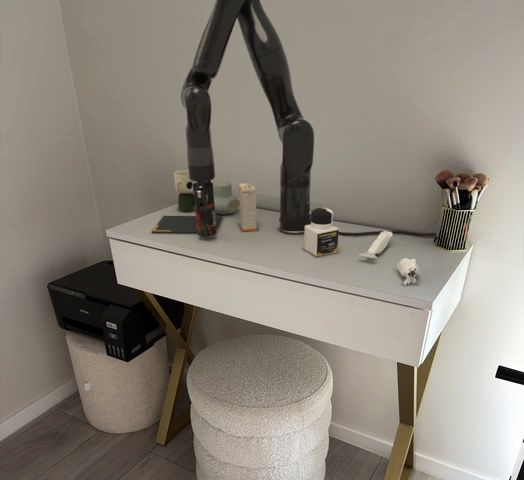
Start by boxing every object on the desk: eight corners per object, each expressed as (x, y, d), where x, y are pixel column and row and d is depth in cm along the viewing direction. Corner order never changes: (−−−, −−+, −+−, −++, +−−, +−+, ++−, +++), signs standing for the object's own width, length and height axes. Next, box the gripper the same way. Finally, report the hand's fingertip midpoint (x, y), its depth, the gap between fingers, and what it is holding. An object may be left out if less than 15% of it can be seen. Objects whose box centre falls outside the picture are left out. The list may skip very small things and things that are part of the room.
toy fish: (395, 244, 157) (397, 231, 155) (376, 265, 144) (377, 251, 142) (377, 241, 160) (378, 228, 158) (356, 262, 146) (357, 248, 144)
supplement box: (257, 230, 169) (256, 189, 162) (242, 231, 169) (240, 190, 162) (254, 222, 176) (253, 182, 169) (239, 223, 176) (238, 183, 169)
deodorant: (215, 237, 161) (212, 186, 153) (196, 237, 161) (191, 187, 153) (217, 230, 166) (213, 181, 158) (198, 230, 166) (194, 182, 158)
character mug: (188, 215, 183) (184, 177, 177) (170, 213, 186) (166, 175, 179) (203, 206, 192) (201, 169, 185) (186, 204, 194) (183, 168, 188)
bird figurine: (423, 288, 134) (413, 264, 141) (424, 267, 130) (413, 243, 137) (404, 292, 135) (395, 268, 142) (403, 271, 130) (394, 247, 137)
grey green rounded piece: (224, 218, 180) (222, 188, 175) (205, 214, 184) (203, 185, 179) (242, 210, 188) (241, 181, 183) (224, 206, 192) (222, 178, 186)
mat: (221, 217, 181) (221, 215, 180) (214, 234, 167) (214, 231, 167) (164, 217, 182) (163, 215, 182) (152, 233, 169) (151, 231, 168)
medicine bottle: (316, 257, 150) (318, 215, 143) (303, 249, 155) (304, 208, 149) (337, 252, 153) (340, 211, 146) (324, 244, 158) (326, 204, 152)
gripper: (209, 167, 146) (214, 227, 155) (217, 156, 158) (221, 211, 167) (182, 168, 146) (189, 227, 155) (192, 156, 158) (197, 212, 167)
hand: (205, 219), depth 161 cm, fingers closed on deodorant, 6 cm apart
